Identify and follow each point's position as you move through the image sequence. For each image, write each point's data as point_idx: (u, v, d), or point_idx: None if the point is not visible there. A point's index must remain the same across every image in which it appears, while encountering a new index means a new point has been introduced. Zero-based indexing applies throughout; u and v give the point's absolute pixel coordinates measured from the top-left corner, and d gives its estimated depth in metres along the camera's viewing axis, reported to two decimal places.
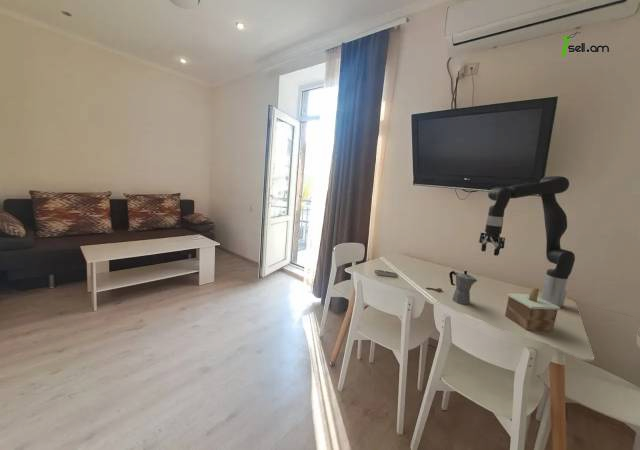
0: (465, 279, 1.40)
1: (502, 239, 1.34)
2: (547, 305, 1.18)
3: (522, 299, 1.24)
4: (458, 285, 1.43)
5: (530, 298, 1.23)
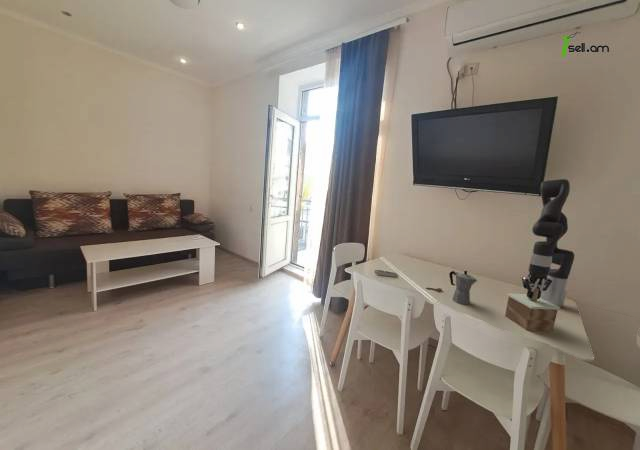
0: (465, 279, 1.40)
1: None
2: (547, 305, 1.18)
3: (522, 299, 1.24)
4: (458, 285, 1.43)
5: None
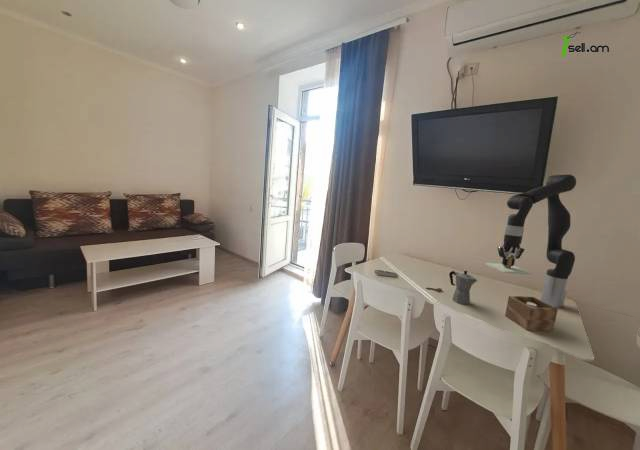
0: (465, 279, 1.40)
1: None
2: (519, 270, 1.32)
3: (497, 266, 1.38)
4: (458, 285, 1.43)
5: None
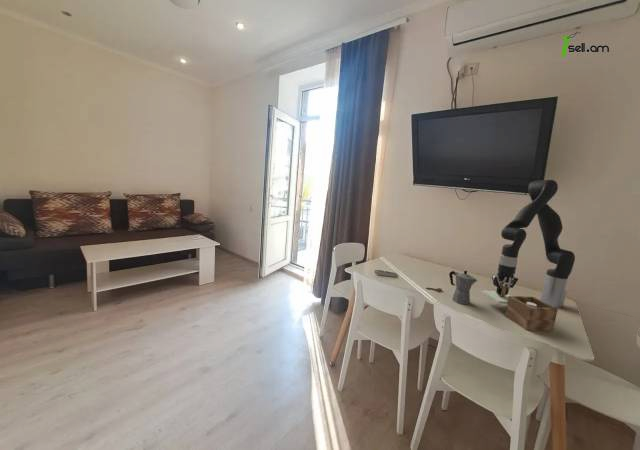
0: (465, 279, 1.40)
1: None
2: None
3: (492, 295, 1.40)
4: (458, 285, 1.43)
5: None
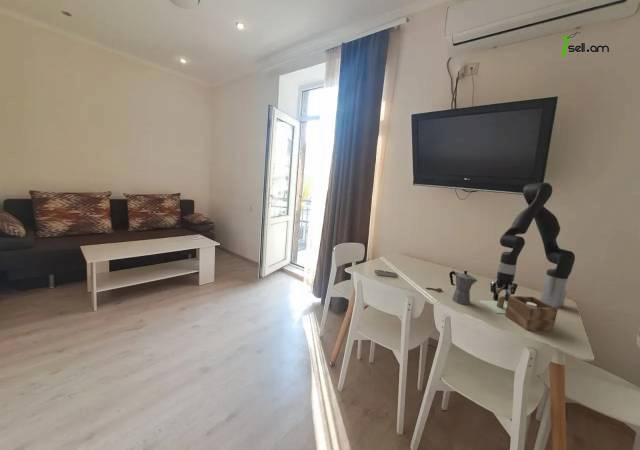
0: (465, 279, 1.40)
1: None
2: None
3: (490, 305, 1.41)
4: (458, 285, 1.43)
5: (497, 305, 1.40)
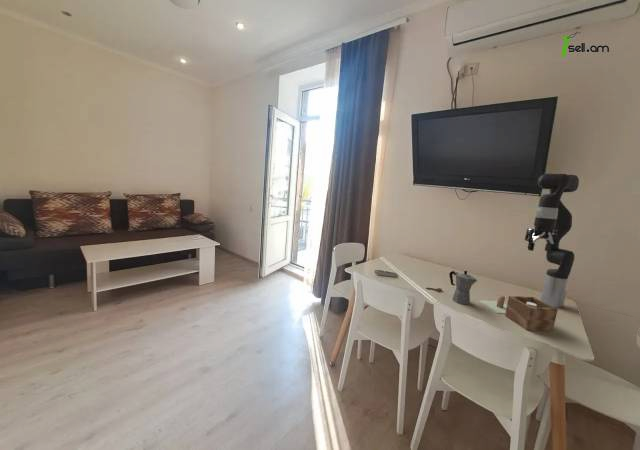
0: (465, 279, 1.39)
1: None
2: None
3: (490, 305, 1.41)
4: (458, 285, 1.43)
5: (497, 305, 1.40)
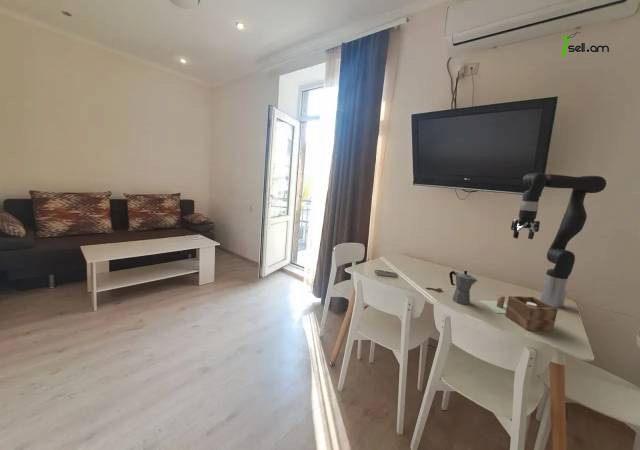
0: (465, 279, 1.39)
1: None
2: None
3: (490, 305, 1.41)
4: (458, 285, 1.43)
5: (497, 305, 1.40)
